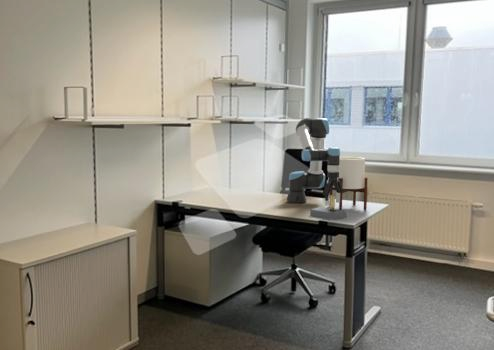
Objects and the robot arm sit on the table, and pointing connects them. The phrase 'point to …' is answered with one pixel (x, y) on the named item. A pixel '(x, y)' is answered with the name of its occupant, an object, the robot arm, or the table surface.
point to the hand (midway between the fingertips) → (332, 204)
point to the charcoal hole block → (328, 213)
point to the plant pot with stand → (352, 178)
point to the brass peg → (332, 203)
